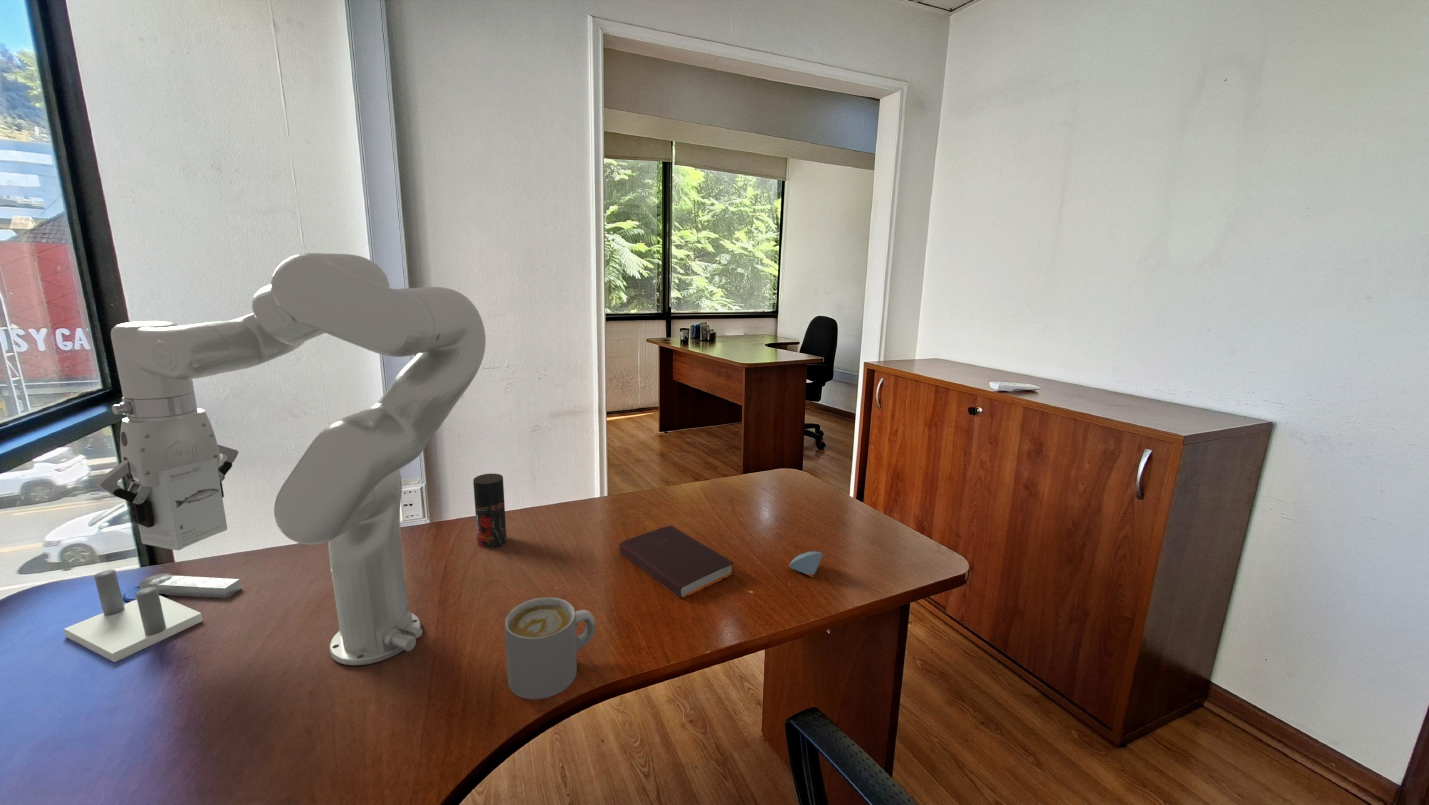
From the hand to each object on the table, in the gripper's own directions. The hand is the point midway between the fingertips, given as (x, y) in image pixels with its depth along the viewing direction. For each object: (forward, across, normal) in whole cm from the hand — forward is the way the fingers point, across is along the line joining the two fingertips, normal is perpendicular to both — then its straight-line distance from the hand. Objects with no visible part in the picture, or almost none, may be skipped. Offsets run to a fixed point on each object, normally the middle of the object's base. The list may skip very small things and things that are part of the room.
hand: (182, 513), depth 87 cm
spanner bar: (+21, +5, +14) cm, 25 cm away
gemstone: (+19, +61, -87) cm, 108 cm away
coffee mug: (+19, +16, -58) cm, 63 cm away
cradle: (+20, -5, +9) cm, 23 cm away
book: (+20, +52, -61) cm, 82 cm away
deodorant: (+20, +42, -21) cm, 51 cm away
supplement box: (+4, 0, 0) cm, 4 cm away
